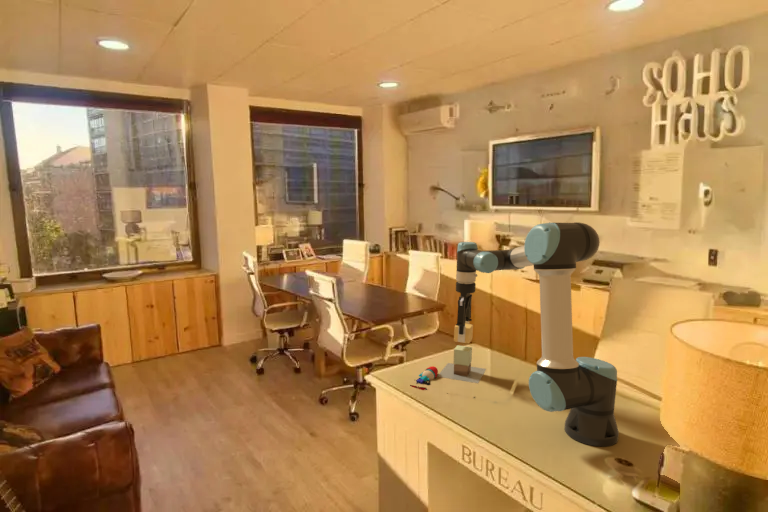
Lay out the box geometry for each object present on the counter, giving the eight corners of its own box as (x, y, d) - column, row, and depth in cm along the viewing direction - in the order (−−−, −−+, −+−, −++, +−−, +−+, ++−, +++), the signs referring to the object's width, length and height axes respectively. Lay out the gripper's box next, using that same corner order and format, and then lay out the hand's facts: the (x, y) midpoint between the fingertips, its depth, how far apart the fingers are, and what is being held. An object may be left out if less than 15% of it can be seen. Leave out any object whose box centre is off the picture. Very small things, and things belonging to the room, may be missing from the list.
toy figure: (425, 395, 177) (444, 375, 189) (424, 383, 176) (442, 364, 187) (408, 391, 181) (427, 373, 193) (406, 379, 180) (425, 361, 192)
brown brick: (467, 376, 187) (467, 366, 187) (453, 374, 189) (454, 364, 189) (470, 371, 193) (471, 361, 192) (457, 368, 195) (457, 359, 194)
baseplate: (477, 386, 181) (478, 383, 181) (437, 379, 187) (437, 376, 187) (486, 371, 196) (486, 368, 195) (447, 365, 202) (447, 362, 201)
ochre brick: (469, 343, 185) (469, 328, 185) (453, 341, 188) (454, 326, 187) (472, 339, 191) (473, 324, 190) (457, 336, 193) (458, 322, 192)
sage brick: (468, 366, 187) (469, 351, 186) (453, 363, 189) (454, 349, 188) (471, 361, 192) (472, 347, 191) (456, 359, 194) (457, 345, 193)
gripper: (469, 287, 176) (467, 348, 179) (480, 278, 193) (477, 334, 197) (450, 285, 179) (447, 345, 182) (462, 276, 196) (459, 331, 199)
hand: (463, 339), depth 189 cm, fingers closed on ochre brick, 6 cm apart
